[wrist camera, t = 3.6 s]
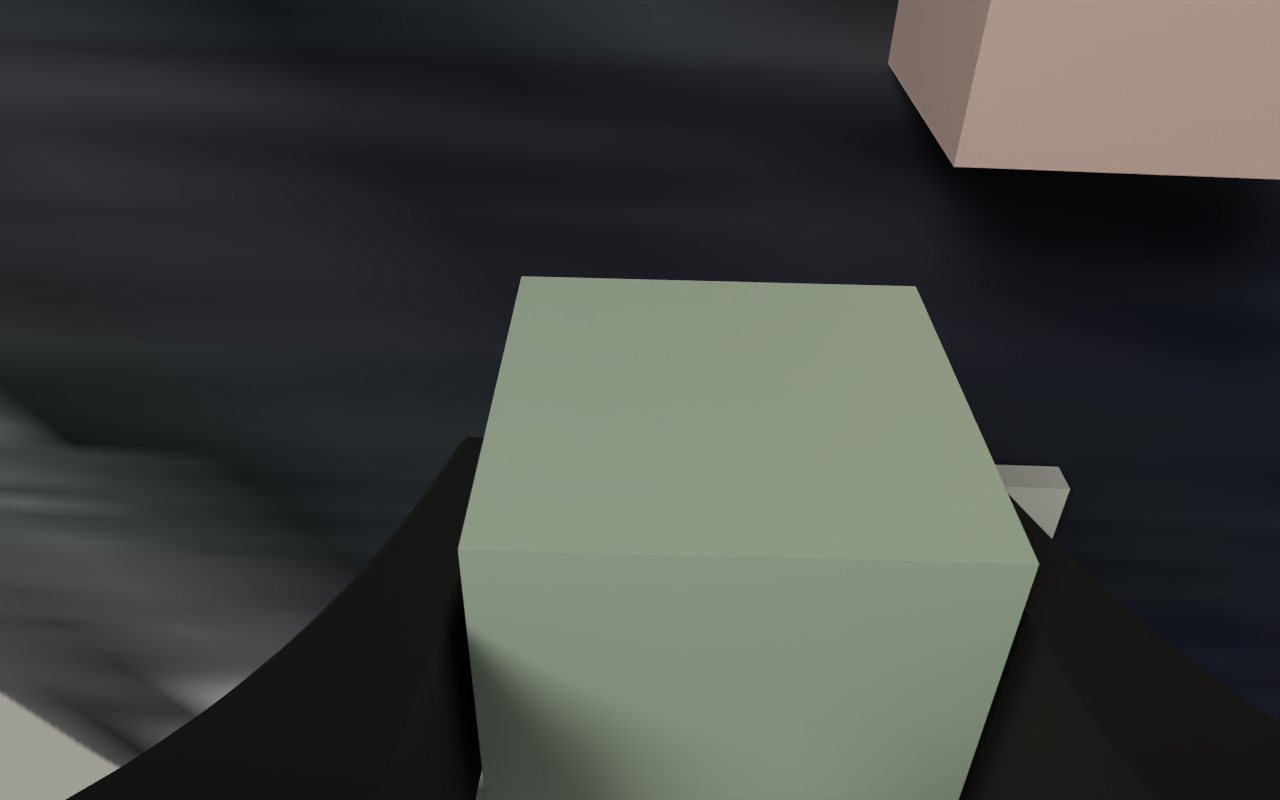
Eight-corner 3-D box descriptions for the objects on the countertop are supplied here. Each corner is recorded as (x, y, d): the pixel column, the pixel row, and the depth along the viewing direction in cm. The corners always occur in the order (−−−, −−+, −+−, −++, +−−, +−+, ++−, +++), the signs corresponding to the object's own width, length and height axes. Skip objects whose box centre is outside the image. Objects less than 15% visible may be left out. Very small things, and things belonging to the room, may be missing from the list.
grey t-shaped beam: (1058, 466, 23) (1216, 767, 17) (988, 668, 27) (1094, 975, 21) (886, 460, 23) (976, 760, 17) (841, 664, 27) (900, 970, 21)
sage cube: (915, 286, 13) (1038, 565, 9) (858, 571, 16) (929, 882, 11) (521, 276, 13) (457, 550, 9) (536, 562, 16) (494, 871, 11)
